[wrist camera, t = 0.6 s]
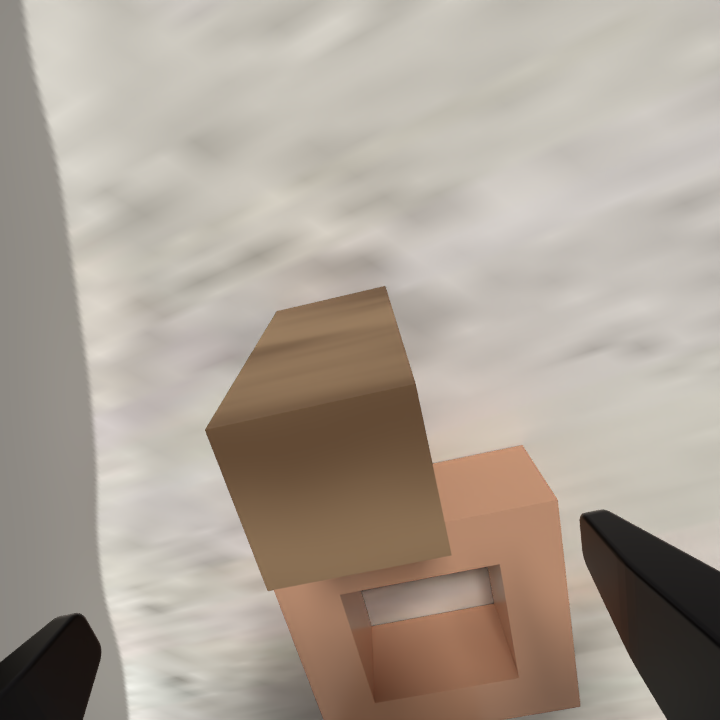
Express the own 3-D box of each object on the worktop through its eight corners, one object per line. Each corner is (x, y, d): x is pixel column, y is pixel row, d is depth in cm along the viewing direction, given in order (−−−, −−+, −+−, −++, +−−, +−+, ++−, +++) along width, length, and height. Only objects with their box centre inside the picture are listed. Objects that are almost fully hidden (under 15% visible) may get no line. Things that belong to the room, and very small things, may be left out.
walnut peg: (407, 386, 21) (451, 555, 11) (306, 409, 21) (267, 591, 12) (385, 286, 19) (415, 383, 10) (276, 311, 19) (205, 430, 10)
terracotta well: (547, 629, 26) (580, 706, 22) (337, 667, 26) (334, 748, 23) (522, 445, 22) (557, 499, 18) (277, 495, 22) (261, 558, 19)
